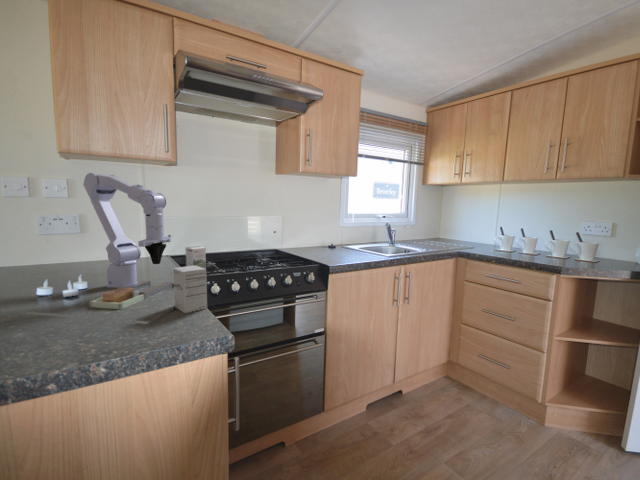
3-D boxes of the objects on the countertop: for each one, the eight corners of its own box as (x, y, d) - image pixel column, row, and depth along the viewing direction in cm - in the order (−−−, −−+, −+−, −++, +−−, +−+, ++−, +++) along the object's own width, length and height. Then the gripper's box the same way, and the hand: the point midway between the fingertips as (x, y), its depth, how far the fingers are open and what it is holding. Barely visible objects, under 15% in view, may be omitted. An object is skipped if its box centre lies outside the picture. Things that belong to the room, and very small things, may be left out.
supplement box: (174, 307, 99) (172, 267, 97) (197, 302, 104) (196, 264, 103) (183, 314, 94) (182, 271, 92) (208, 308, 99) (206, 268, 97)
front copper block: (103, 306, 98) (102, 293, 97) (113, 302, 102) (113, 290, 101) (114, 307, 97) (114, 294, 97) (124, 303, 101) (124, 290, 100)
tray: (89, 308, 97) (89, 301, 97) (117, 298, 107) (116, 292, 107) (120, 311, 95) (120, 303, 95) (145, 300, 106) (145, 293, 105)
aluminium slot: (114, 298, 107) (114, 290, 107) (144, 287, 121) (143, 280, 120) (146, 300, 105) (146, 292, 105) (173, 289, 119) (172, 282, 119)
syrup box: (198, 279, 135) (197, 245, 133) (206, 282, 131) (205, 247, 129) (186, 282, 130) (184, 247, 129) (193, 284, 127) (192, 248, 125)
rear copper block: (113, 302, 102) (112, 290, 101) (123, 298, 106) (122, 286, 105) (124, 303, 101) (123, 290, 100) (133, 299, 105) (133, 287, 104)
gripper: (150, 228, 108) (152, 268, 109) (177, 225, 122) (178, 260, 123) (132, 228, 109) (134, 267, 110) (160, 225, 123) (162, 260, 125)
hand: (156, 263), depth 117 cm, fingers closed
